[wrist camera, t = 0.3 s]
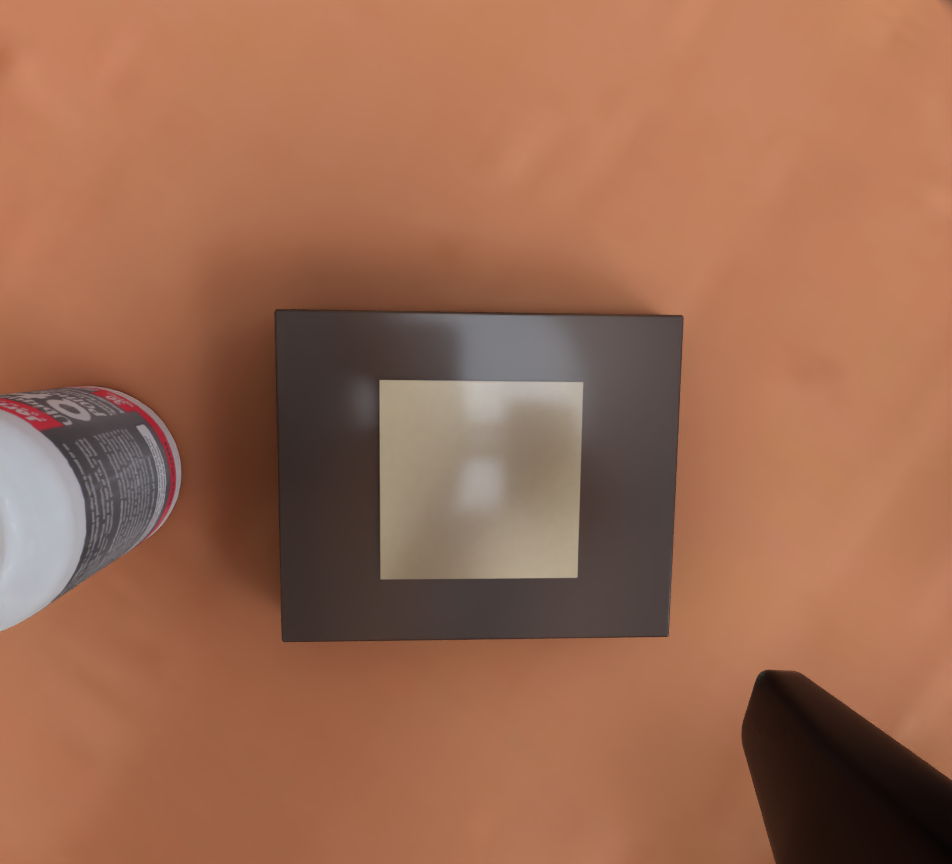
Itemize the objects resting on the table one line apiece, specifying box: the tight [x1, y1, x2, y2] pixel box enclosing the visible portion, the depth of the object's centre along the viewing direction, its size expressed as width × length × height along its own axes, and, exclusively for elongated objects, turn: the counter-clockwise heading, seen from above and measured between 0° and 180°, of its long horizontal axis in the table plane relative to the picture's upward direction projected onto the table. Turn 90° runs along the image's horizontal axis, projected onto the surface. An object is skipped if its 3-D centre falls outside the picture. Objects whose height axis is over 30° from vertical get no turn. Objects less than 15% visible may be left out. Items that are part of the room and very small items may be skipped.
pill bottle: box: [0, 386, 182, 631], centre depth 18 cm, size 5×5×10 cm
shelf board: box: [274, 309, 684, 642], centre depth 22 cm, size 12×10×2 cm
